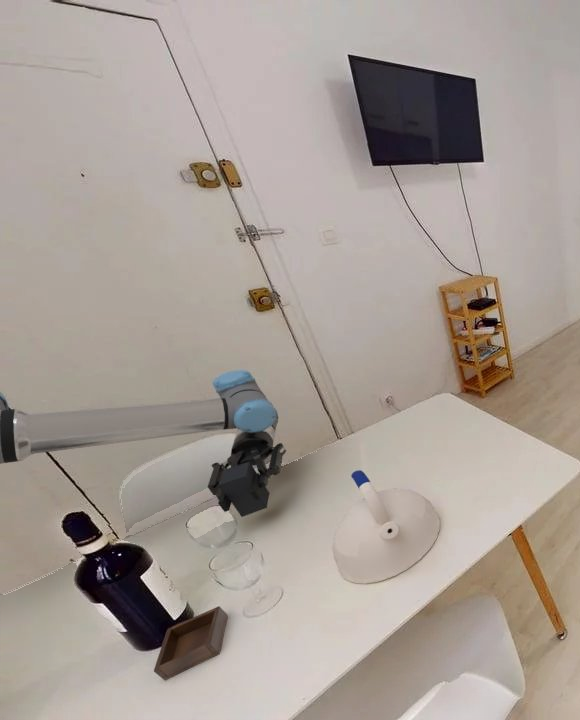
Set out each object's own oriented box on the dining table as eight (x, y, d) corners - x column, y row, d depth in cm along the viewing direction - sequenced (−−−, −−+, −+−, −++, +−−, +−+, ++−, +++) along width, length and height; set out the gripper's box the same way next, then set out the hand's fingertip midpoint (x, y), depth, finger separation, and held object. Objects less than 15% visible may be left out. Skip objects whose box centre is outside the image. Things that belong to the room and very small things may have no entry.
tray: (164, 680, 68) (153, 671, 66) (177, 638, 74) (167, 628, 72) (219, 653, 71) (210, 644, 70) (228, 615, 77) (219, 605, 76)
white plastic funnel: (354, 607, 78) (315, 545, 69) (326, 542, 91) (291, 484, 82) (456, 539, 91) (435, 480, 82) (419, 491, 103) (397, 435, 94)
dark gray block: (241, 517, 91) (218, 484, 86) (245, 501, 95) (223, 469, 90) (267, 507, 93) (245, 475, 89) (269, 492, 97) (249, 461, 93)
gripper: (302, 441, 111) (297, 495, 94) (216, 467, 102) (193, 532, 85) (290, 418, 107) (283, 471, 90) (199, 444, 98) (173, 507, 81)
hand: (239, 501), depth 88 cm, fingers closed on dark gray block, 4 cm apart
